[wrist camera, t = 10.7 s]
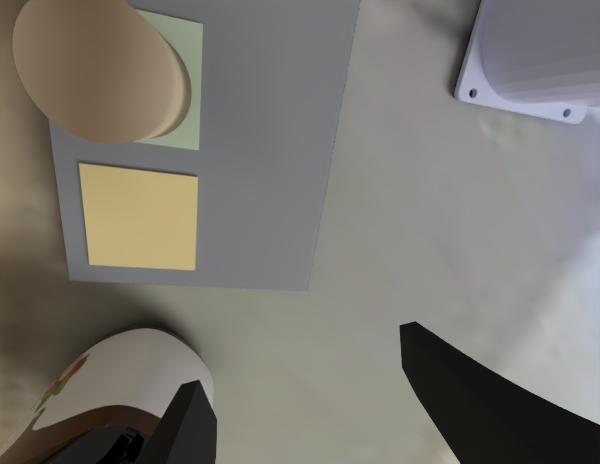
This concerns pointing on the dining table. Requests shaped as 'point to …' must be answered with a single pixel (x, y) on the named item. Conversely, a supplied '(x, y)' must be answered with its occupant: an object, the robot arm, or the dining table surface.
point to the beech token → (100, 70)
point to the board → (218, 153)
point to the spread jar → (108, 400)
